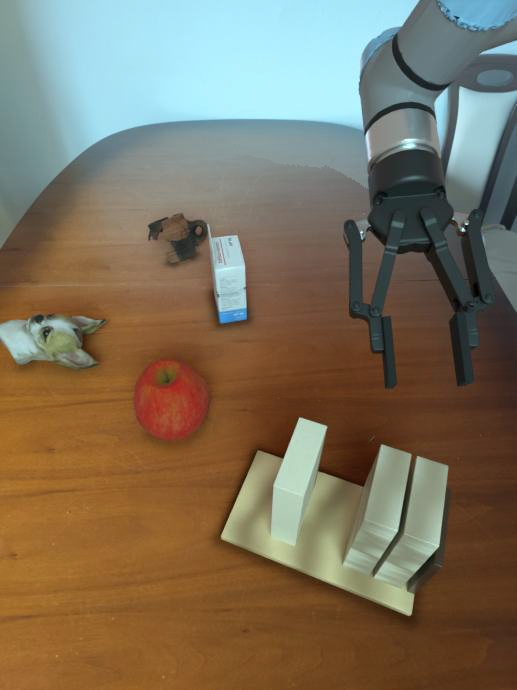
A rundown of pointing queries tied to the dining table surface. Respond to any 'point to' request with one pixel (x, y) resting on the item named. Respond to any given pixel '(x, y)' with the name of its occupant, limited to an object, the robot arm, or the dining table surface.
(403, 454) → the book rack
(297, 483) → the cream book
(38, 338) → the ceramic sculpture
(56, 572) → the dining table surface
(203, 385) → the apple
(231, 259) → the ink box
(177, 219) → the pottery mug
